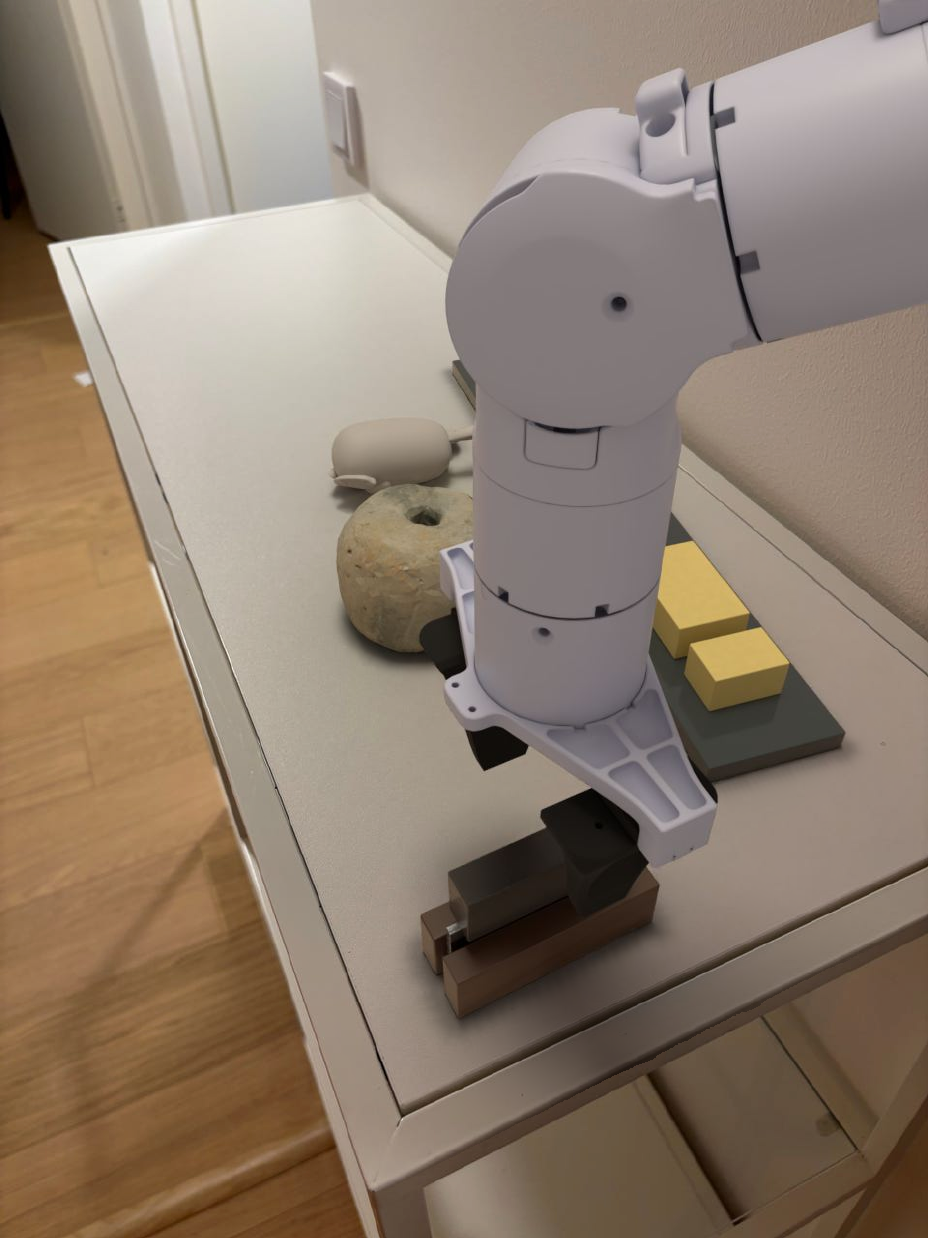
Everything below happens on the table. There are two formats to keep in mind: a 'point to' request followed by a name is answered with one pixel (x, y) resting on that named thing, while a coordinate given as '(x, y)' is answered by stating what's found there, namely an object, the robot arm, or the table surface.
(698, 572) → the butter stick
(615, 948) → the table surface
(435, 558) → the stone
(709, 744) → the butter board
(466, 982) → the knife rack
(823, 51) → the robot arm
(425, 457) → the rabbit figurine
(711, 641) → the butter pat
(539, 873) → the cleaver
